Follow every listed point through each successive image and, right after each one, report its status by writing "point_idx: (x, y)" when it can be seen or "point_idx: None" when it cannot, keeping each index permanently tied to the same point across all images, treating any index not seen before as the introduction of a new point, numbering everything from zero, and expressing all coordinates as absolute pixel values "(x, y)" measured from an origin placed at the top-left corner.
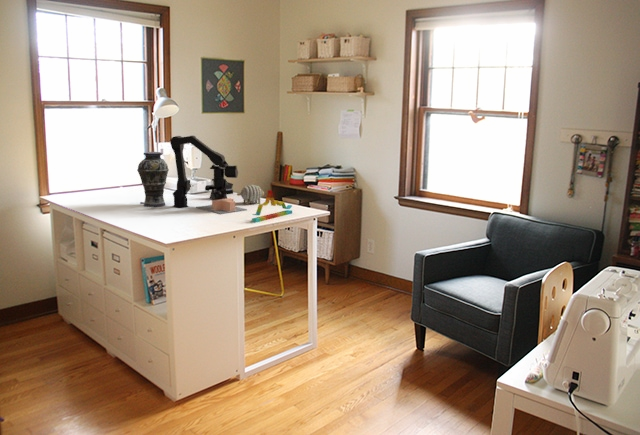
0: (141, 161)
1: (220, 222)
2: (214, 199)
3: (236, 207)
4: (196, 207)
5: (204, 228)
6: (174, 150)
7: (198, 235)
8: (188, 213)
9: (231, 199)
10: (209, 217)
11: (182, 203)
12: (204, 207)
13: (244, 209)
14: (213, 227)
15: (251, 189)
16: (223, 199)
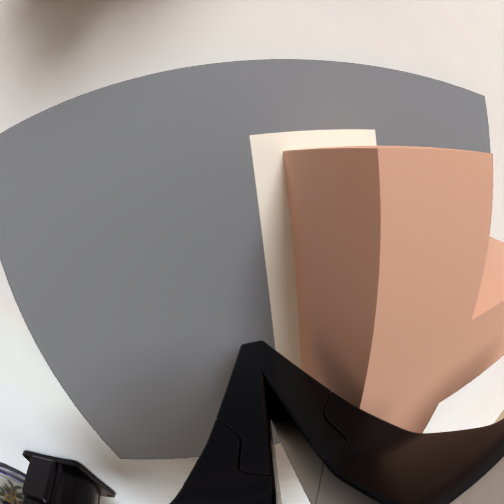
0: None
1: (498, 382)
2: None
3: (381, 99)
4: (125, 455)
5: (484, 420)
6: None
7: (491, 424)
8: (292, 491)
9: (486, 211)
10: (438, 420)
11: (94, 501)
12: (168, 435)
13: (485, 123)
14: (498, 401)
15: None
16: (410, 380)
